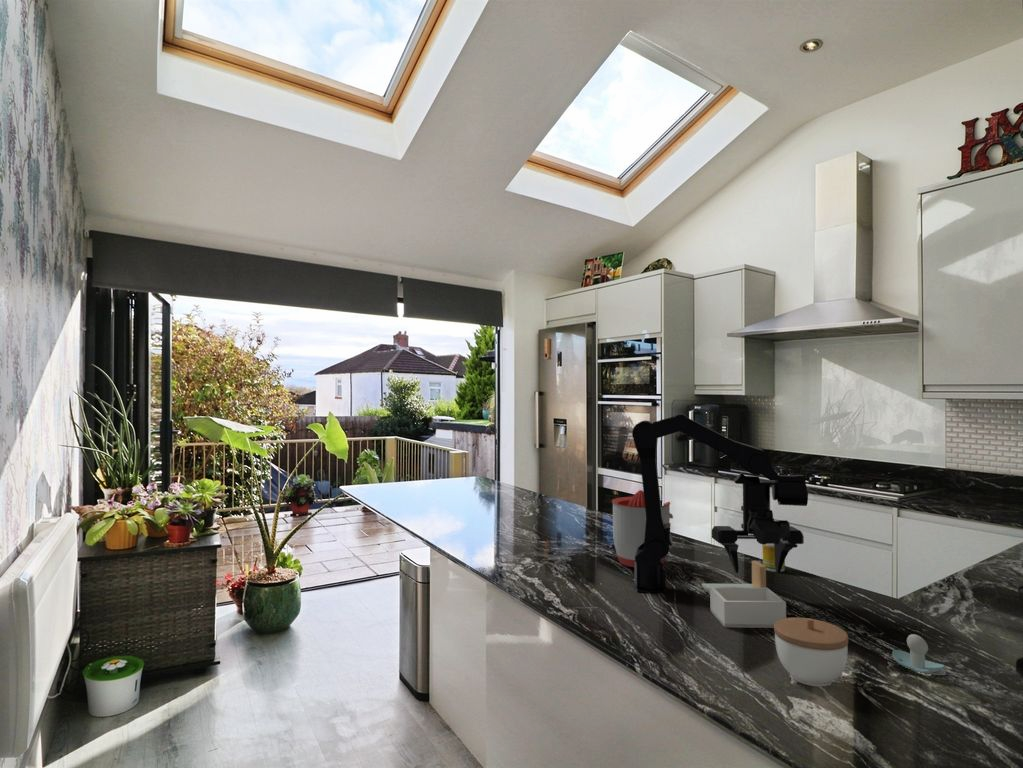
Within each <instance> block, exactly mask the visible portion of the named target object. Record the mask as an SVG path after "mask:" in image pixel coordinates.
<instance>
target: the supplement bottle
mask: <svg viewBox="0 0 1023 768" xmlns="http://www.w3.org/2000/svg"><path fill="white" fill-rule="evenodd" d="M761 545H762V565H764V566H765V567H766V572H773V573H776V570H775V551H774V544H761ZM785 569H786V560H785V561H784V563H783V566H782V568H781V571H780V573H783V572H785Z"/></svg>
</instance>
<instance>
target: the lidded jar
mask: <svg viewBox="0 0 1023 768" xmlns="http://www.w3.org/2000/svg"><path fill="white" fill-rule="evenodd" d="M773 631H774V642H775V649H776V653H777V657H778V659H779V661H780V663H781V666H783V669H784V670H786V672H788V674H789V676H790V677H791V678H792V679H793V680H794V681H796V682H798V683H800V684H803V685H805V686H810V687H816V688H817V687H818V688H823V687H822V686H826V685H829V684H831V683H832V684H833V682H834V681H836V680H838V678H840V677H841V675H842V674H843V672H844V670H845V668H846V666H847V660H848V651H849V650H848V649H849V648H848V644H849V635H848V633H847V632H846V631H845V630H844V629H842V628H841V627H839V626H837V625H834V624H832V623H829V622H826V621H823V620H819V619H814V618H809V617H808V618H807V617H786V618H784V619H780V620H778V621H776V622H775V624H774V628H773ZM832 684H831V685H832ZM829 686H830V685H829ZM826 687H827V686H826Z"/></svg>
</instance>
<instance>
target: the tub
mask: <svg viewBox="0 0 1023 768" xmlns="http://www.w3.org/2000/svg"><path fill="white" fill-rule="evenodd" d="M709 598H710V603H709V605H710V606H709V607H710V608H709V610H710V612H711V613H712V615H713V616H714V617H715V618H716V619H717V621H718V622H719V623H720V624H721V625H722V626H723V628H740V629H741V628H742V629H743V628H752V629H754V628H755V629H756V628H758V629H761V628H762V629H764V628H765V629H767V628H768V629H774V624H775V622H776V621H778V620H780V619H784V618H787V602H786V601H785V600H784V599H783V598H782V597H780V596H778V595H777V594H776V593H775V592H773V590H771V589H770V588H768V586H766V587H710V594H709Z"/></svg>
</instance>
